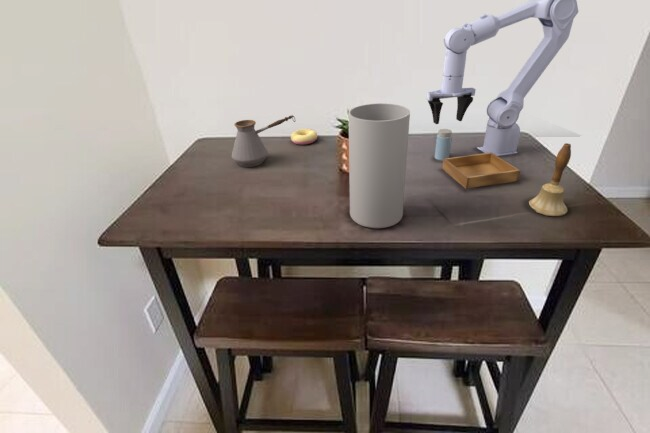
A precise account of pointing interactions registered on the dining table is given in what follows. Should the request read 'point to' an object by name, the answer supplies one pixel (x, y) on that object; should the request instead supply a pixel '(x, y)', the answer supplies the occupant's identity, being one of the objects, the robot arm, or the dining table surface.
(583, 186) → the dining table surface
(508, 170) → the wooden tray
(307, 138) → the donut
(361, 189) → the cylinder vase
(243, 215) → the dining table surface
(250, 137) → the coffee pot
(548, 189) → the hand bell
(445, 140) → the shaker
